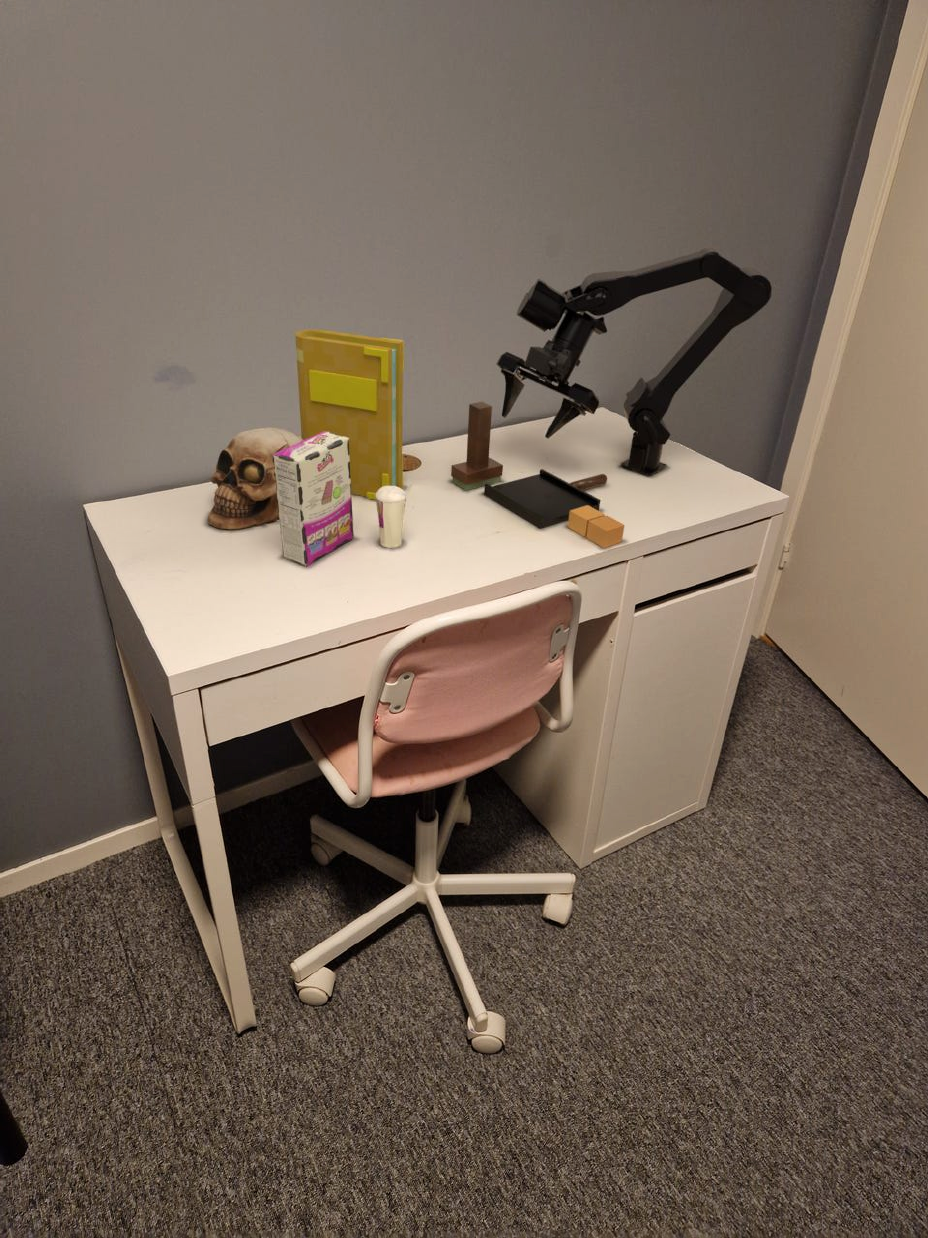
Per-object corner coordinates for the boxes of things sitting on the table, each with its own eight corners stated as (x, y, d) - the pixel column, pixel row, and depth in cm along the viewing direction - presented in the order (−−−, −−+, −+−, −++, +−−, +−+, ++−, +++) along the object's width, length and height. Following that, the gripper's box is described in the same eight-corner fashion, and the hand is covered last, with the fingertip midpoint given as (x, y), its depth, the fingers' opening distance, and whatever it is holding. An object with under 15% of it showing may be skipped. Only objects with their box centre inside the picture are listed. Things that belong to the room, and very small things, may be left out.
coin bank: (202, 528, 131) (197, 443, 125) (225, 492, 146) (221, 415, 140) (305, 534, 132) (305, 449, 126) (317, 498, 148) (317, 421, 142)
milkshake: (406, 552, 128) (407, 491, 122) (372, 548, 129) (371, 486, 123) (414, 539, 132) (415, 479, 126) (380, 534, 132) (380, 474, 127)
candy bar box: (329, 530, 133) (324, 429, 124) (354, 538, 131) (351, 437, 122) (280, 557, 125) (271, 452, 116) (306, 567, 123) (299, 461, 114)
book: (403, 486, 148) (404, 340, 134) (387, 502, 142) (387, 351, 129) (315, 470, 152) (307, 326, 138) (297, 484, 147) (287, 336, 133)
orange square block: (604, 531, 137) (606, 515, 135) (621, 541, 134) (624, 524, 132) (585, 537, 135) (588, 520, 133) (603, 548, 132) (606, 530, 130)
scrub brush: (486, 473, 154) (491, 397, 147) (501, 481, 151) (507, 405, 144) (450, 482, 150) (453, 404, 143) (465, 491, 147) (469, 412, 140)
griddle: (576, 469, 158) (578, 459, 156) (635, 499, 148) (637, 488, 147) (483, 494, 147) (484, 483, 145) (540, 528, 137) (541, 517, 135)
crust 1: (585, 521, 140) (587, 504, 138) (602, 531, 137) (605, 514, 135) (567, 527, 138) (569, 510, 136) (584, 537, 135) (586, 519, 133)
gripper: (507, 308, 143) (464, 392, 145) (602, 348, 136) (555, 437, 138) (528, 332, 153) (488, 411, 156) (618, 371, 147) (574, 453, 149)
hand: (524, 427), depth 149 cm, fingers open, 9 cm apart
